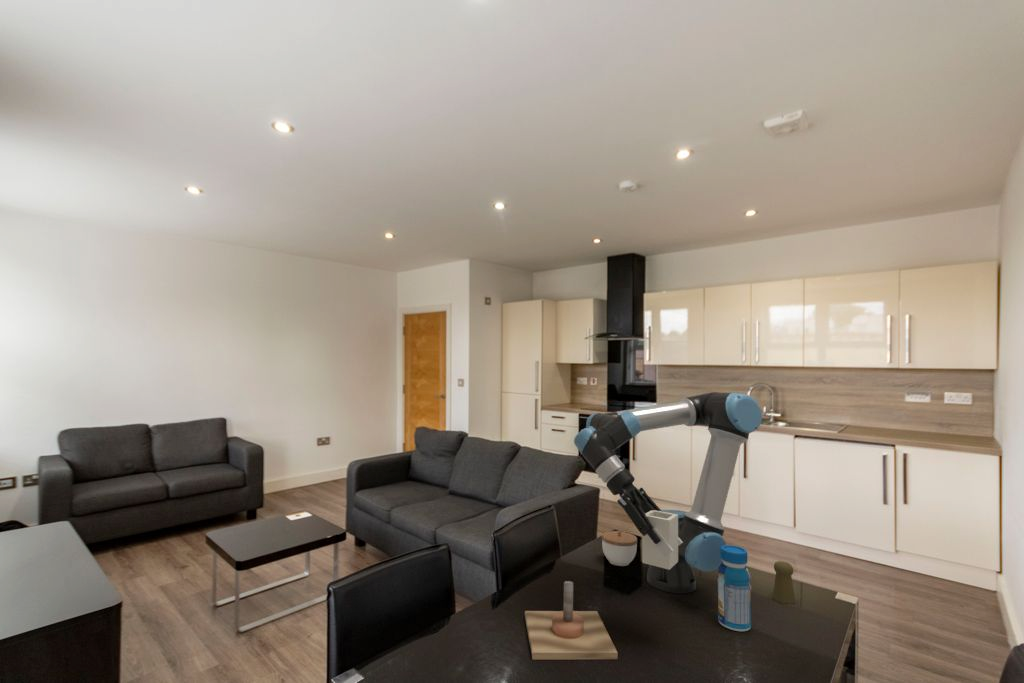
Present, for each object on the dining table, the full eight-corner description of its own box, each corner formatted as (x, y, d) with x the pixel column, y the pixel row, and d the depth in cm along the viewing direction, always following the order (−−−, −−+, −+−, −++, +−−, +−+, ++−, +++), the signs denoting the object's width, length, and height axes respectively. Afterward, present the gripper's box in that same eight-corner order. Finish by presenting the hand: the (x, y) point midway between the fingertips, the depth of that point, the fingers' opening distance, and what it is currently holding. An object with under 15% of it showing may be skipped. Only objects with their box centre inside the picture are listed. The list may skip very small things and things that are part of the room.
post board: (524, 616, 129) (526, 567, 130) (596, 616, 130) (597, 568, 131) (532, 659, 109) (534, 601, 110) (617, 659, 110) (618, 601, 111)
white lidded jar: (638, 559, 175) (638, 528, 176) (635, 571, 163) (635, 538, 164) (604, 553, 179) (604, 524, 180) (599, 565, 167) (599, 533, 168)
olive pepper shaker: (798, 605, 141) (798, 567, 142) (776, 602, 142) (776, 565, 143) (791, 596, 147) (790, 560, 148) (770, 594, 148) (769, 558, 149)
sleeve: (642, 562, 122) (642, 515, 123) (651, 555, 128) (652, 509, 129) (669, 569, 118) (669, 520, 119) (678, 561, 123) (678, 514, 124)
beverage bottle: (737, 635, 123) (737, 556, 124) (710, 620, 130) (710, 545, 132) (758, 628, 127) (757, 551, 128) (731, 614, 134) (730, 542, 136)
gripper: (621, 479, 141) (675, 547, 130) (590, 490, 125) (650, 569, 114) (638, 463, 139) (695, 531, 128) (609, 472, 123) (672, 551, 112)
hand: (674, 549), depth 121 cm, fingers closed on sleeve, 7 cm apart
